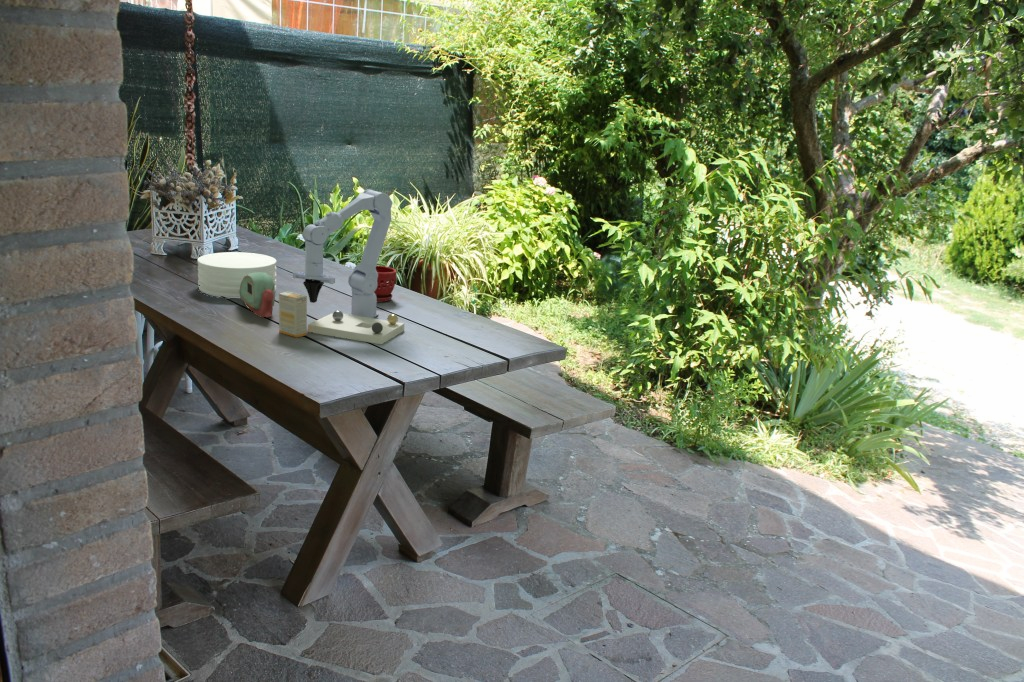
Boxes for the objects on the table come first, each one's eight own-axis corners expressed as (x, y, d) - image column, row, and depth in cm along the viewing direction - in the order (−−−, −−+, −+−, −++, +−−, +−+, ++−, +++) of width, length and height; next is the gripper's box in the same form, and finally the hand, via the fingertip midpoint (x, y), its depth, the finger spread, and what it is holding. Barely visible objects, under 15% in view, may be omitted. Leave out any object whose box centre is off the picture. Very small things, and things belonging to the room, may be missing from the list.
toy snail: (237, 303, 305) (237, 265, 301) (258, 301, 309) (258, 264, 305) (259, 321, 285) (259, 281, 281) (282, 320, 289) (282, 280, 285)
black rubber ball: (374, 330, 277) (374, 320, 276) (384, 332, 276) (384, 322, 275) (369, 333, 274) (370, 323, 273) (379, 335, 273) (380, 324, 272)
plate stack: (261, 279, 342) (261, 250, 339) (287, 295, 320) (287, 265, 317) (189, 283, 326) (188, 253, 323) (210, 301, 305) (210, 270, 301)
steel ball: (335, 318, 287) (335, 308, 286) (345, 320, 286) (345, 310, 285) (330, 321, 283) (330, 311, 282) (340, 322, 283) (340, 312, 282)
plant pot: (382, 305, 317) (383, 274, 314) (353, 299, 322) (354, 268, 319) (401, 299, 329) (403, 268, 325) (373, 293, 334) (374, 263, 330)
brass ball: (389, 322, 288) (390, 312, 287) (399, 323, 287) (399, 313, 286) (385, 324, 285) (385, 314, 284) (395, 326, 284) (395, 316, 283)
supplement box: (307, 335, 275) (307, 295, 271) (295, 338, 271) (296, 298, 268) (290, 329, 280) (290, 290, 276) (278, 332, 276) (278, 292, 272)
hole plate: (334, 319, 295) (334, 312, 294) (404, 330, 289) (404, 323, 288) (307, 331, 278) (307, 324, 278) (381, 344, 272) (381, 336, 271)
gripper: (288, 260, 280) (287, 301, 283) (328, 266, 276) (327, 307, 280) (299, 257, 286) (298, 296, 290) (338, 263, 282) (337, 303, 286)
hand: (313, 301), depth 285 cm, fingers closed
